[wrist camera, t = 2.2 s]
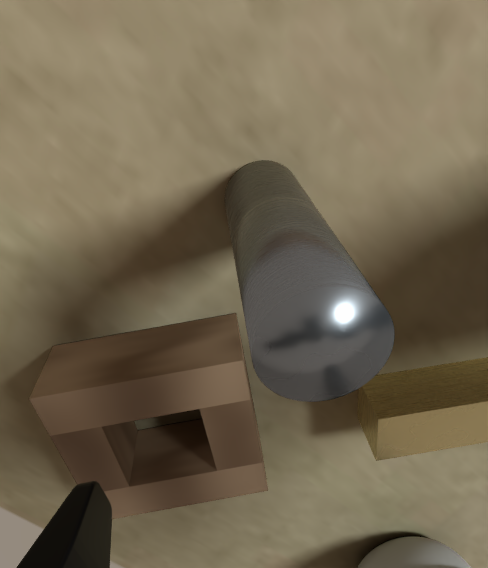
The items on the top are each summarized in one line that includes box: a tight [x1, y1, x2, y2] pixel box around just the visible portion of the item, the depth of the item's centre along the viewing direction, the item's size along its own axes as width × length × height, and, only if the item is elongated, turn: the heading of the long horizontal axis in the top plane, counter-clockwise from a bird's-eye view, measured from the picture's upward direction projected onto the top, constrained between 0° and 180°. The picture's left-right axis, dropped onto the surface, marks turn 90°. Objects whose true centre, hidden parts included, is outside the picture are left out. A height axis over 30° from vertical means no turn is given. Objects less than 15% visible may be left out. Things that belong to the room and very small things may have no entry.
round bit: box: [225, 160, 394, 402], centre depth 14 cm, size 3×3×10 cm
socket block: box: [29, 313, 268, 519], centre depth 22 cm, size 9×9×4 cm
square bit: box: [358, 357, 488, 461], centre depth 24 cm, size 8×3×3 cm, turn 97°
